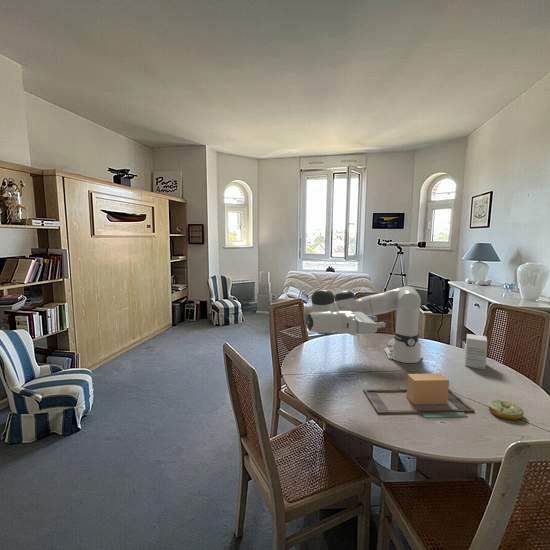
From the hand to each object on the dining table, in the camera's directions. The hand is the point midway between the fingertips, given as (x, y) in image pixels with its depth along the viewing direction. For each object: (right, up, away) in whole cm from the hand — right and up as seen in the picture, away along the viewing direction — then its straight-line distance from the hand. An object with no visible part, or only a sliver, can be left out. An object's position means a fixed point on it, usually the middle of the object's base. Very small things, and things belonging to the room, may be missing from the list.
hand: (380, 321), depth 130 cm
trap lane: (+14, -32, -1) cm, 35 cm away
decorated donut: (+44, -34, -10) cm, 56 cm away
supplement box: (+61, -28, +35) cm, 75 cm away
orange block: (+19, -32, 0) cm, 37 cm away
